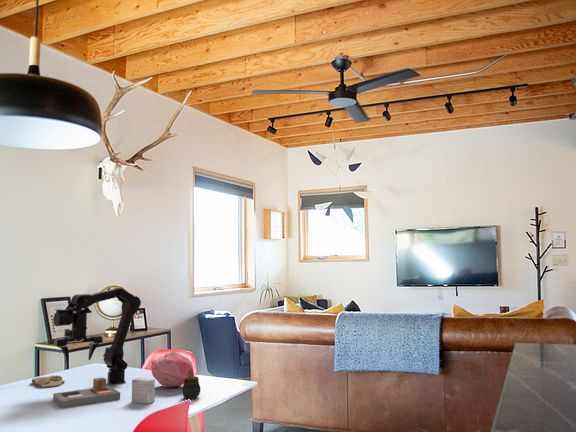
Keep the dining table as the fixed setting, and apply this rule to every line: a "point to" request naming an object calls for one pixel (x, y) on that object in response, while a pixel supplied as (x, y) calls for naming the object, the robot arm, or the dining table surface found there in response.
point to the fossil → (48, 381)
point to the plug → (99, 385)
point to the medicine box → (143, 390)
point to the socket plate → (85, 397)
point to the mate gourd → (191, 387)
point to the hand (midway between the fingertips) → (78, 361)
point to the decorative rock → (171, 369)
